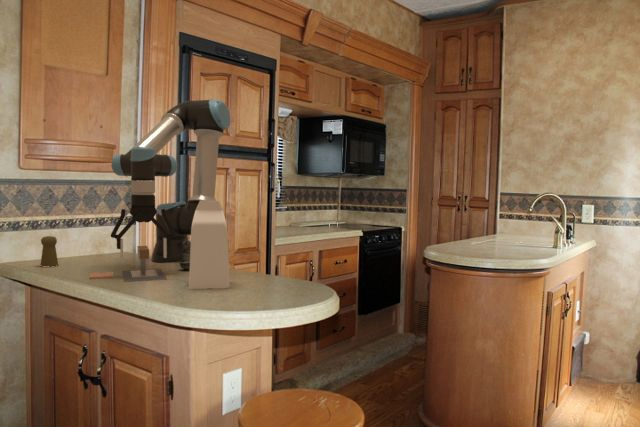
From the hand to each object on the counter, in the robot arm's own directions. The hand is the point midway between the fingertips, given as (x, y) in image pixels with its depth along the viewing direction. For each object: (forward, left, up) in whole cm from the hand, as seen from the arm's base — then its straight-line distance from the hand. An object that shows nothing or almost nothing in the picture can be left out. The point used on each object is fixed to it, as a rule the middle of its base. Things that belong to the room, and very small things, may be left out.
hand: (143, 258), depth 181 cm
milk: (-18, +20, -6) cm, 28 cm away
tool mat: (0, 0, -6) cm, 6 cm away
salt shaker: (-15, -6, -6) cm, 18 cm away
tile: (+13, -6, -6) cm, 15 cm away
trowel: (0, -1, -6) cm, 6 cm away
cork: (+31, -34, -6) cm, 47 cm away
